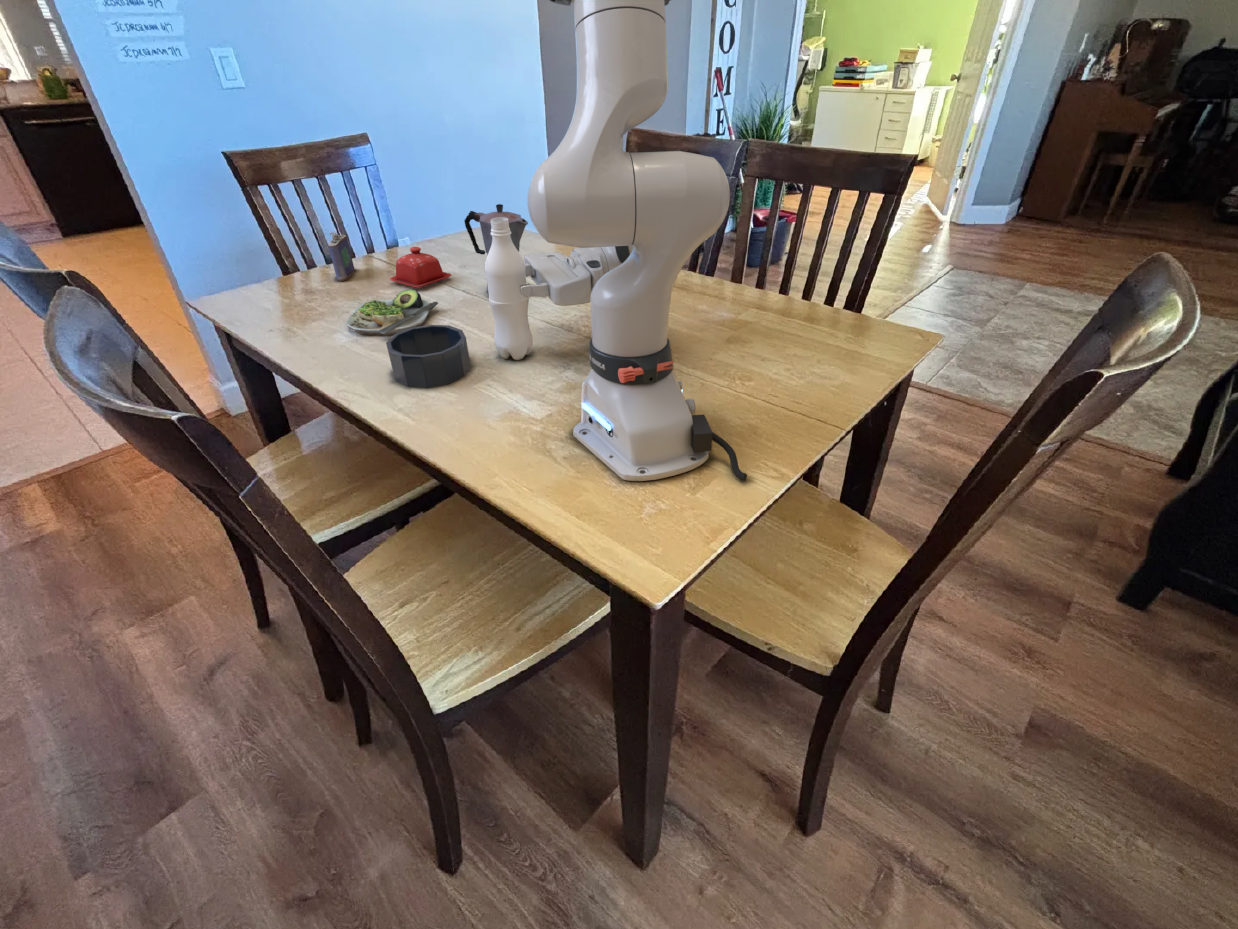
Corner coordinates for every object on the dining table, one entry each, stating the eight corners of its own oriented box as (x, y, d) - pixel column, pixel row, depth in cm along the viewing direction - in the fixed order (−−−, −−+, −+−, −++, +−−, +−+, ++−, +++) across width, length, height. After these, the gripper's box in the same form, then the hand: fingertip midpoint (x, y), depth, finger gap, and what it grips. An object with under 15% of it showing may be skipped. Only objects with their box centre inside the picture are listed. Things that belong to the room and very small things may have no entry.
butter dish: (424, 271, 161) (418, 237, 156) (454, 279, 156) (449, 245, 151) (387, 283, 154) (379, 248, 149) (418, 293, 148) (411, 257, 143)
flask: (345, 281, 155) (333, 237, 149) (334, 281, 155) (321, 237, 149) (357, 269, 163) (346, 227, 157) (345, 270, 163) (334, 227, 157)
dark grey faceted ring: (476, 378, 112) (471, 348, 109) (398, 393, 108) (391, 362, 105) (462, 349, 123) (457, 320, 119) (390, 361, 118) (383, 332, 115)
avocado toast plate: (424, 340, 126) (419, 318, 123) (335, 342, 126) (328, 321, 123) (442, 305, 142) (439, 285, 139) (363, 307, 141) (358, 287, 139)
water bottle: (518, 366, 116) (501, 227, 102) (488, 357, 119) (469, 221, 105) (541, 351, 121) (529, 217, 107) (512, 343, 124) (497, 212, 110)
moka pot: (528, 302, 143) (519, 210, 131) (465, 298, 145) (451, 207, 134) (541, 287, 150) (533, 199, 139) (481, 284, 153) (468, 197, 141)
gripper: (566, 240, 123) (497, 249, 118) (605, 271, 107) (527, 282, 103) (568, 272, 126) (501, 281, 122) (605, 306, 111) (530, 319, 107)
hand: (513, 282), depth 112 cm, fingers open, 8 cm apart
